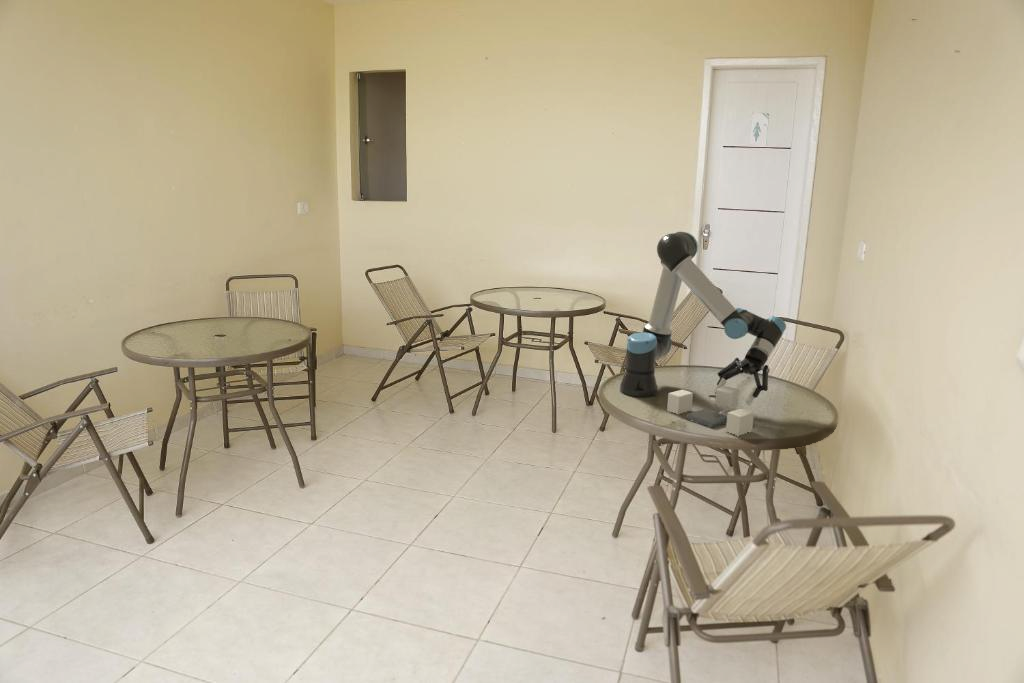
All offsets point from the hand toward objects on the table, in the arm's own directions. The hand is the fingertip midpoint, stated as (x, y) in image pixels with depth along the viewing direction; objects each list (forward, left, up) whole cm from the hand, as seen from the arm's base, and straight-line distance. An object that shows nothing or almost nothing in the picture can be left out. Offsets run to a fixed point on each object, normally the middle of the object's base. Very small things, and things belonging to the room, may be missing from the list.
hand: (731, 398), depth 253 cm
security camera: (-1, -1, -7) cm, 7 cm away
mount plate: (-1, -12, -7) cm, 13 cm away
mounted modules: (-1, -12, -7) cm, 13 cm away
